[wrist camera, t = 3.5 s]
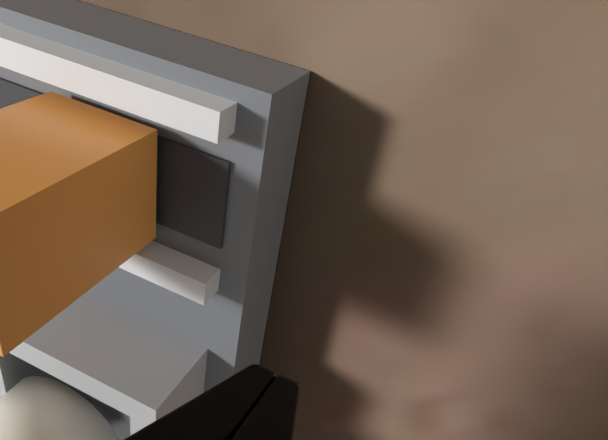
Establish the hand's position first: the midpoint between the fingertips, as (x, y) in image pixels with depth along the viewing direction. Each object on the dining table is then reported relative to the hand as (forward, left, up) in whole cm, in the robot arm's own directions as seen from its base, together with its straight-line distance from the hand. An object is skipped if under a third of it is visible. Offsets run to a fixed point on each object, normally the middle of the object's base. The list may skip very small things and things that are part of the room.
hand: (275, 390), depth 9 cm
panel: (+10, +4, -6) cm, 12 cm away
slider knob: (+7, 0, -4) cm, 8 cm away
